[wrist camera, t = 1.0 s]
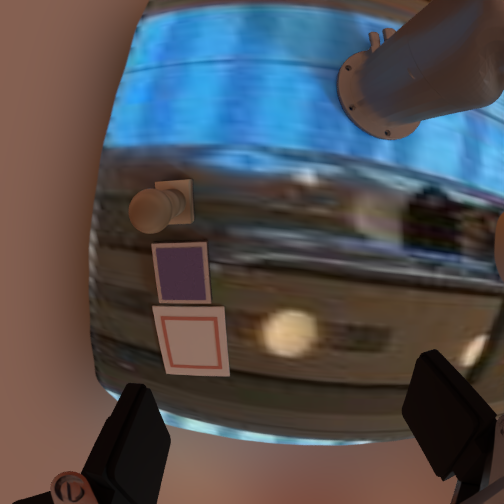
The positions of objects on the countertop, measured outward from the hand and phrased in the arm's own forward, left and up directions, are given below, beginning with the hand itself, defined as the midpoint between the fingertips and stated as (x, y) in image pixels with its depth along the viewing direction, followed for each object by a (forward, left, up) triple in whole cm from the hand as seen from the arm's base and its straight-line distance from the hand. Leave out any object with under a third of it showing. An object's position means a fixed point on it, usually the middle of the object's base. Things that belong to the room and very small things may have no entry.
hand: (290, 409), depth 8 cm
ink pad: (+4, -10, -27) cm, 29 cm away
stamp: (-5, -10, -27) cm, 29 cm away
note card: (+15, -10, -27) cm, 33 cm away
